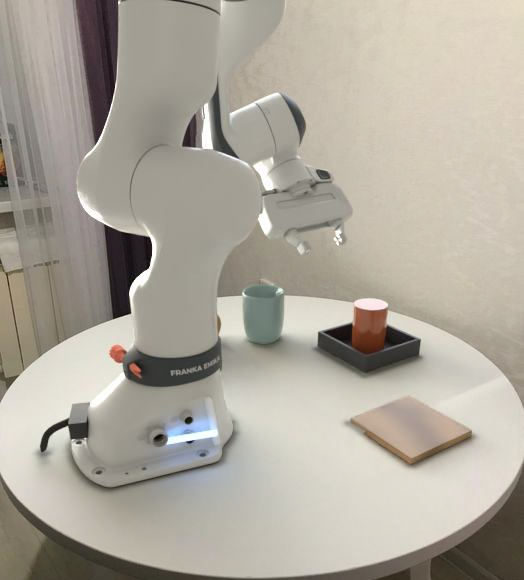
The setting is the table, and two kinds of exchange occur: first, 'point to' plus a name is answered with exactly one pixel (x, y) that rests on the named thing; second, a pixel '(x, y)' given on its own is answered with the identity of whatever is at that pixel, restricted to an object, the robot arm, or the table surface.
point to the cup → (263, 313)
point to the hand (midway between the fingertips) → (325, 247)
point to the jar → (369, 325)
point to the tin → (395, 350)
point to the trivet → (411, 429)
